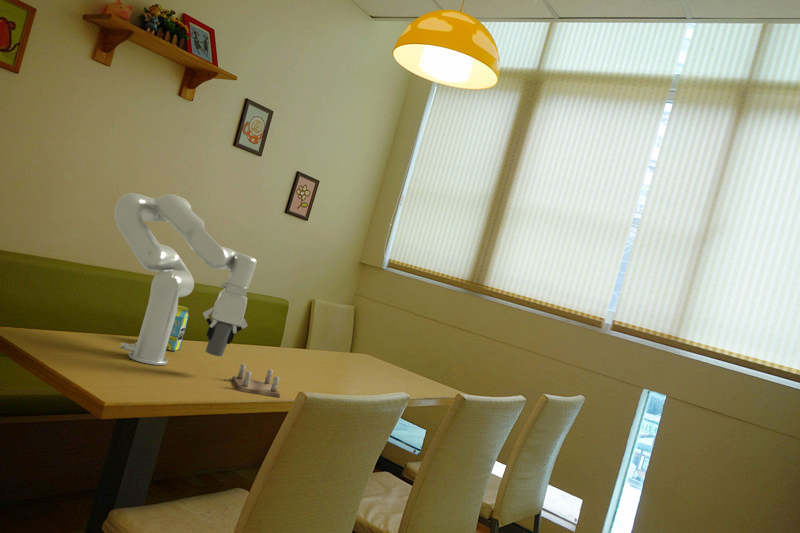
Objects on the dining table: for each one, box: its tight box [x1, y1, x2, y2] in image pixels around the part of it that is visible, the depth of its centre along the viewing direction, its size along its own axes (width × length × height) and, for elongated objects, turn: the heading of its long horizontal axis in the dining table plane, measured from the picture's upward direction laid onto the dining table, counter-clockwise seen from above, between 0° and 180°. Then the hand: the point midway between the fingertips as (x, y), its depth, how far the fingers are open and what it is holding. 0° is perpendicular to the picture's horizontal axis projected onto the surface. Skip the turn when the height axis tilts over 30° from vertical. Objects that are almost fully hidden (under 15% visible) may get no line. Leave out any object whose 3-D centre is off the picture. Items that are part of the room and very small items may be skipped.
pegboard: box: [231, 363, 281, 398], centre depth 212 cm, size 14×14×6 cm
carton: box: [166, 304, 190, 353], centre depth 235 cm, size 7×8×18 cm
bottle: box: [205, 321, 232, 357], centre depth 208 cm, size 6×6×15 cm
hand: (218, 340), depth 208 cm, fingers closed on bottle, 5 cm apart
